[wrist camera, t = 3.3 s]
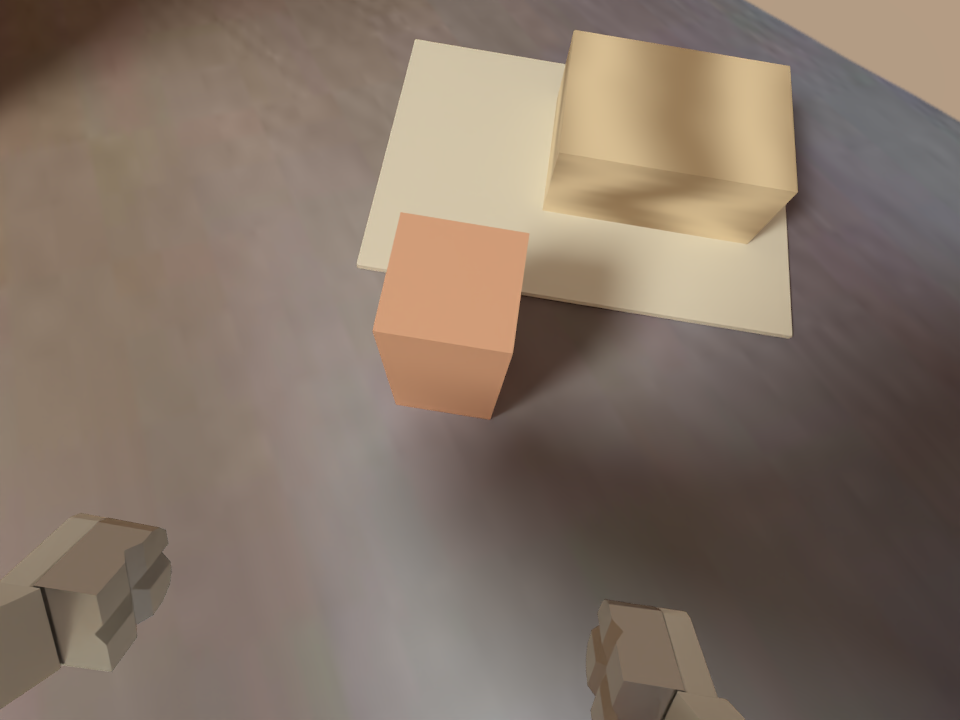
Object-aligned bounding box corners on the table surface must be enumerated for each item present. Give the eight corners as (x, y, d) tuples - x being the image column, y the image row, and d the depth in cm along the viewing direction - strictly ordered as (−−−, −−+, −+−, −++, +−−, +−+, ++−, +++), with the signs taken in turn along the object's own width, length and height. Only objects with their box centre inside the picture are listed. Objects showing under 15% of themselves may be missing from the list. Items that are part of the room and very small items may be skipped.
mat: (357, 267, 25) (356, 264, 25) (415, 44, 30) (415, 39, 29) (788, 338, 25) (792, 336, 25) (776, 104, 30) (779, 100, 30)
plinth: (542, 210, 26) (559, 152, 22) (556, 99, 29) (574, 29, 25) (747, 244, 26) (797, 192, 22) (744, 130, 29) (789, 66, 25)
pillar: (396, 404, 23) (372, 330, 15) (414, 318, 24) (400, 212, 17) (490, 419, 23) (512, 353, 15) (502, 332, 24) (529, 233, 17)
